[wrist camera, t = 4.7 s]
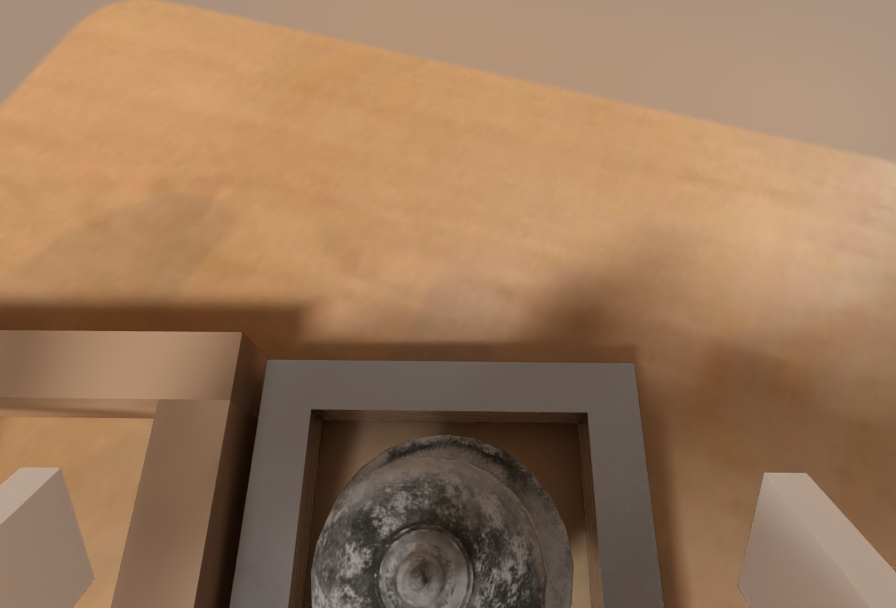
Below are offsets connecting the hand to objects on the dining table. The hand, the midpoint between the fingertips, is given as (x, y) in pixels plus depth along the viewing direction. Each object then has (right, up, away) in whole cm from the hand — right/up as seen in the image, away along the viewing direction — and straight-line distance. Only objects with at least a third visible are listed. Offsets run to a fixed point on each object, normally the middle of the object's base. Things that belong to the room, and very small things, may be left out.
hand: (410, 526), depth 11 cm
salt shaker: (+1, -3, +5) cm, 6 cm away
